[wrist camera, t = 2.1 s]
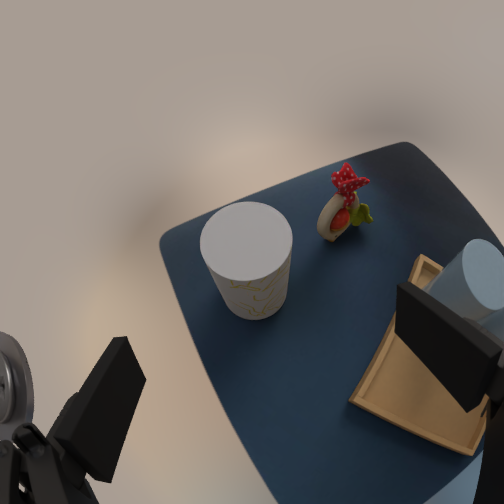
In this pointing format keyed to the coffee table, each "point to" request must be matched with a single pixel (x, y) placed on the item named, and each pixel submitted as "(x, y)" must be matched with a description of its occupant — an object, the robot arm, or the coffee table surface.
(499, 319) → the grey-blue cylinder
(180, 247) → the coffee table surface
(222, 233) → the light grey cylinder
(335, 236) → the bird rattle
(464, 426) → the tray
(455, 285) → the slate blue cylinder
